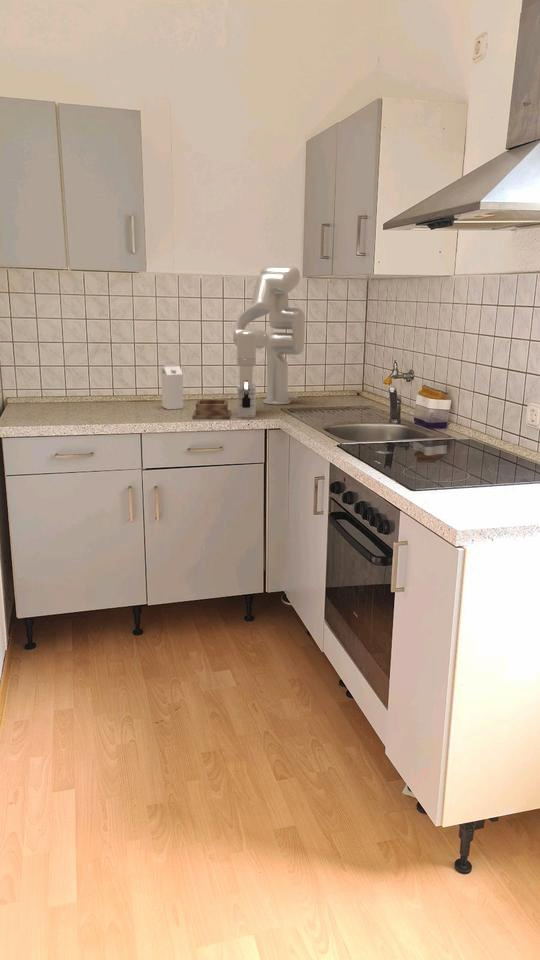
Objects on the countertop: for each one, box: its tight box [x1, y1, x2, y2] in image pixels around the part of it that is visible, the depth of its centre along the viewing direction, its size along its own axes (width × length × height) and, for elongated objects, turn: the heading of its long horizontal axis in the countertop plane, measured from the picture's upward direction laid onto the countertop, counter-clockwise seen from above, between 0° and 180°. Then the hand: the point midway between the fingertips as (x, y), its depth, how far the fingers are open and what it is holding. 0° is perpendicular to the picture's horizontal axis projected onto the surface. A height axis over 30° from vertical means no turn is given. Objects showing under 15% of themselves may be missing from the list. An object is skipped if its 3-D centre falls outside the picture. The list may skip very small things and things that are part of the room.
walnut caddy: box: [191, 399, 232, 420], centre depth 288 cm, size 15×15×6 cm
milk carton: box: [160, 363, 184, 410], centre depth 303 cm, size 7×7×19 cm
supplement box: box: [236, 383, 257, 419], centre depth 288 cm, size 7×7×13 cm
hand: (246, 405), depth 288 cm, fingers closed on supplement box, 7 cm apart
